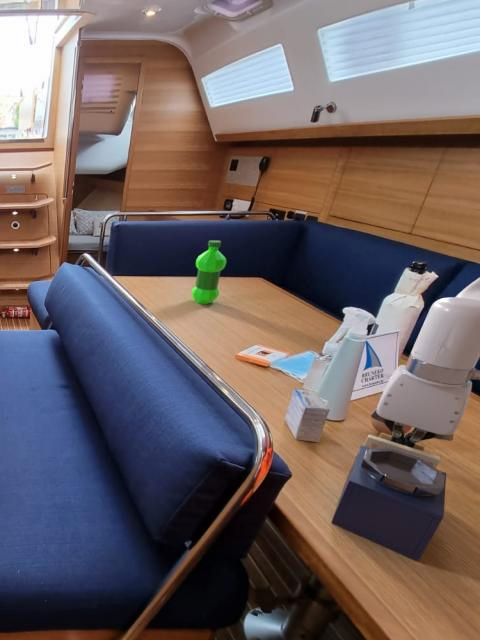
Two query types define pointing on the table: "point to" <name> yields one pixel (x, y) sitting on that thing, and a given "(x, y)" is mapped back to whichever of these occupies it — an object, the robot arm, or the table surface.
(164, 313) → the table surface
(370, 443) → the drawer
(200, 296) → the plastic bottle
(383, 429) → the egg
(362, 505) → the navy box with tray
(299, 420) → the medicine box
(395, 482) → the dark gray octagonal tray
